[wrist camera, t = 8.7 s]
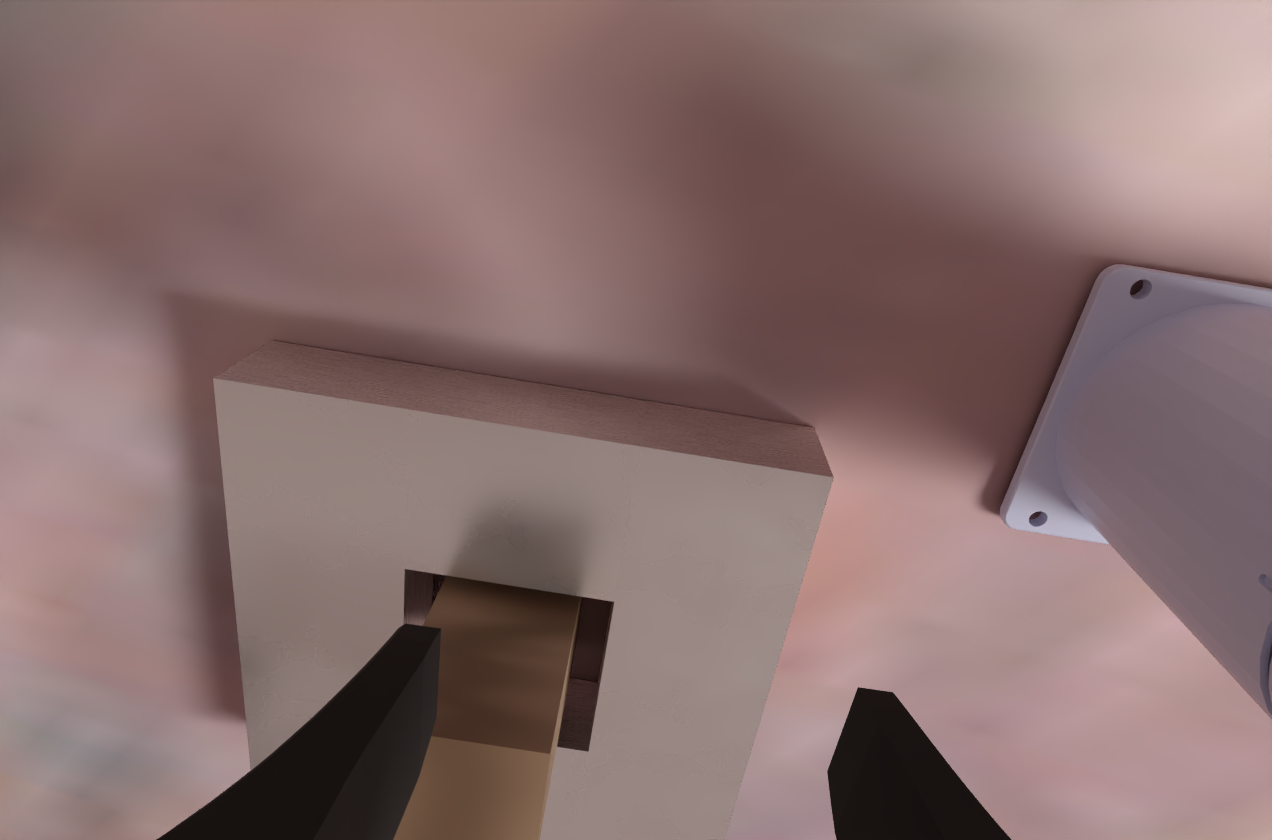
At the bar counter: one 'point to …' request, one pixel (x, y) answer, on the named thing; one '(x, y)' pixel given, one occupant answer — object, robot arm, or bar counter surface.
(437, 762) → the pin
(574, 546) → the collar
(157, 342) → the bar counter surface
